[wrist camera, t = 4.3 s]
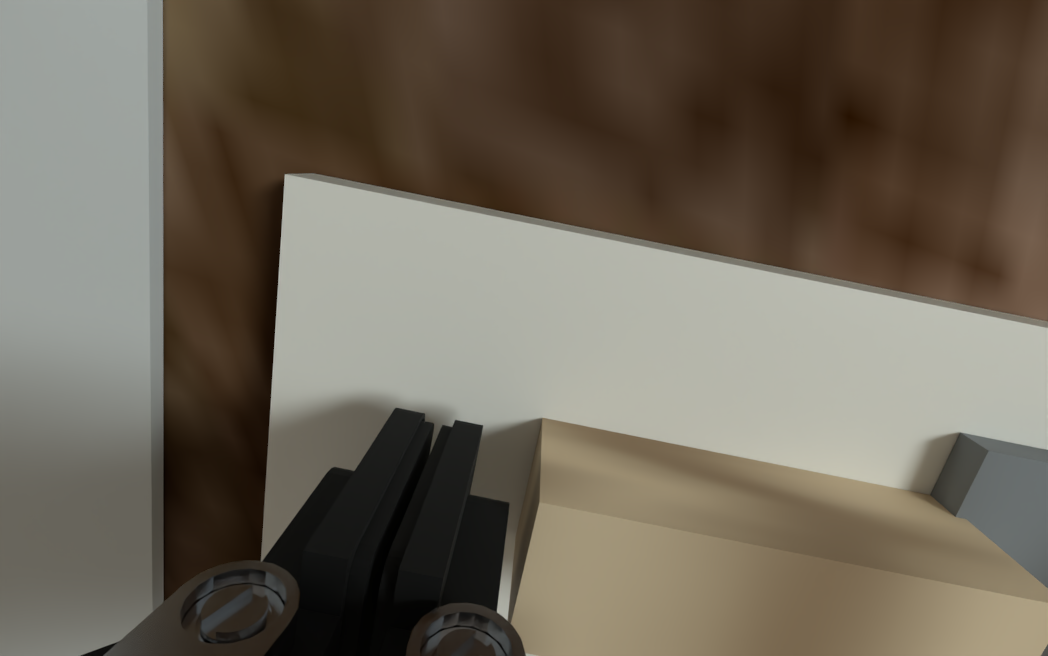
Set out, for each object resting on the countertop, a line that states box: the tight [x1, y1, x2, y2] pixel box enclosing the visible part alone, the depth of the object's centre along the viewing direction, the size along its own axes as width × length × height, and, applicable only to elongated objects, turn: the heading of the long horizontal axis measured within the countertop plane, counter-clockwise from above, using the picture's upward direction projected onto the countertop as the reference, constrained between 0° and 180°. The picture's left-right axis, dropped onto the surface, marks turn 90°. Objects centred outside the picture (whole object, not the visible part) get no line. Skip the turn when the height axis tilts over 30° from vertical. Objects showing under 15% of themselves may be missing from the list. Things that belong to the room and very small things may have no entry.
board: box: [261, 173, 1048, 656], centre depth 12 cm, size 10×28×1 cm, turn 79°
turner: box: [508, 418, 1048, 656], centre depth 10 cm, size 14×6×3 cm, turn 79°
